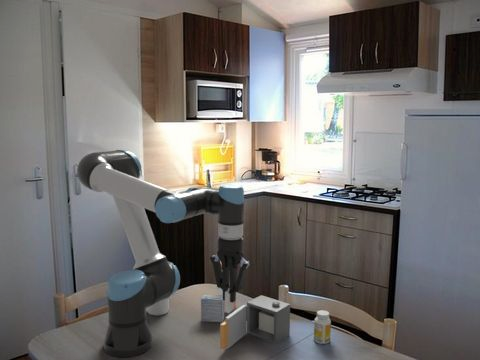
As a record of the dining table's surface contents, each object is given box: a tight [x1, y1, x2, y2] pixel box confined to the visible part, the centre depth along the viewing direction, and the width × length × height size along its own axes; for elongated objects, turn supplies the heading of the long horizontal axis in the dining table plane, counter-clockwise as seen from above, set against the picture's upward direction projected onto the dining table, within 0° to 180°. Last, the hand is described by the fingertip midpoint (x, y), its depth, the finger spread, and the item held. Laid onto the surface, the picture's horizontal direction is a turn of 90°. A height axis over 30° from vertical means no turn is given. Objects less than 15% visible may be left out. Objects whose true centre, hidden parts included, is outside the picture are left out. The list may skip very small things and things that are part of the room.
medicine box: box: [200, 294, 225, 323], centre depth 170 cm, size 8×4×9 cm, turn 84°
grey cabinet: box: [246, 295, 291, 345], centre depth 160 cm, size 14×8×12 cm, turn 52°
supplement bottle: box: [313, 309, 332, 345], centre depth 155 cm, size 5×5×10 cm
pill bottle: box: [146, 297, 170, 316], centre depth 176 cm, size 8×8×15 cm
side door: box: [219, 304, 247, 350], centre depth 152 cm, size 15×1×10 cm, turn 150°
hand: (228, 310), depth 145 cm, fingers closed
